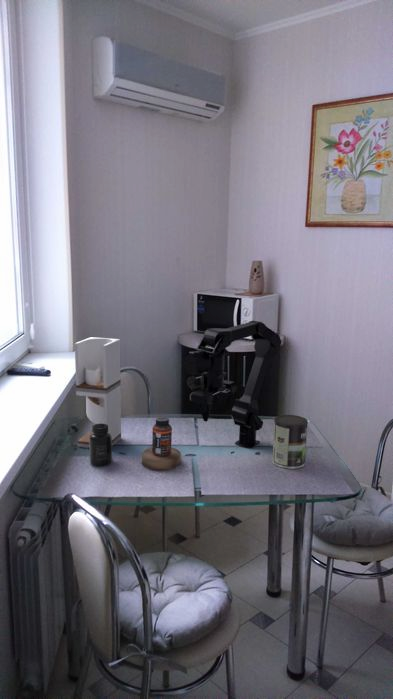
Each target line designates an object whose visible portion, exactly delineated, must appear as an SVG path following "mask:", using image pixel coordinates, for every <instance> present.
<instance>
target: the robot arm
mask: <svg viewBox="0 0 393 699" xmlns="http://www.w3.org/2000/svg"><path fill="white" fill-rule="evenodd" d="M248 337H249V338H250V337H251V338H252V340H253V341H254V348H253V349H254V353H255V356H254V357H255V358H254V360H253V364H252V367H251V370H250V372H249V376H248V378H247V379H248V380H247V383H246V385H245V387H244V388H245V389H244V392H243V395H242V396H241V397H240V398H239V399H237V398H235V400H234V401H233V406H232V409H231V411H232V412H231V417H232V419H233V422H234V425H235V426H236V425H237V426H239V431H238V432H239V434H238V440H237V441H235V442H234V444H235V445H237V446H238V445H239V446H242V447H245V448H248V449H249V448H250V449H253V448H254V447H256V446H257V445H259V444H261V441H260V440H257V431H260V430H261V429H262V428H263V424H264V421H263V420H262V419H261V418H260V417H259V411H260V408H259V403H258V399H259V395H260V393H261V389H262V386H263V384H264V380H265V377H266V373H267V371H268V367H269V365H270V361H271V360H272V359H273V358H274V357H275V356H276V355H277V354H278V352H279V349H280V347H281V345H282V339H281V337H280V335H279V334H278V333H276V332H275V331H274V330H273V329H271V328H269V327H268V326H267V325H266V324H265V323H264V322H263V321H258V320H250V321H249V322H244V323H242V324H238V325H235V326H234V325H233V326H230V327H226V328H218V327H217V328H207V329H206V330H205V331H204V334H203V336H202V337H201V339H200V341H199V343H198V345H197V347H196V348H195V351H189V352H188V356H186V358H185V360H184V361H183V366H184V370H185V372H186V373H187V374H189V375H190V376H189V377H187V381H186V385H187V387H188V388H190V389H191V390H194V391H192V392H191V393H190V394H189V400H190V402H193V403H195V404H196V405H197V406H198V408H199V410H200V414H201V417H202V420H203V422H206V423H207V422H208V421H209V418H210V416H211V411H212V408H213V404H214V401H213V399H214V395H216V396H217V399H218V402H217V403H218V412H219V414H221V415H223V414H224V413H225V410H226V408H227V407H228V404H229V403H230V401H231V398H232V397H233V395H234V394H235V392H236V391H237V389H238V387H237V385H238V384H237V383H235V381H232V380H231V381H230V380H225V379H224V378H225V377H226V376H227V372H225V355H226V356H228V355H230V351H229V350H228V349H227V348H228V347H229V346H231V345H232V343H233V342H236V341H240V340H243V339H245V338H248ZM198 374H201V375H200V376H197V377H196V376H194V375H198ZM191 375H192V376H191ZM199 388H200V389H199ZM195 389H197V390H195Z"/></svg>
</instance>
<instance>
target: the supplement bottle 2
mask: <svg viewBox="0 0 393 699" xmlns="http://www.w3.org/2000/svg"><path fill="white" fill-rule="evenodd" d="M172 430H173V429H172V425H171V424H170V419H169V418H168V417H167V416H159V417H156V419H155V424H154V425H153V426H152V437H151V438H152V439H151V440H152V442H151V445H152V446H151V447H152V453H153V454H154V455H156V456H168V455H170V454H171V447H172V440H173V439H172V438H173V437H172V435H173V432H172Z"/></svg>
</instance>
